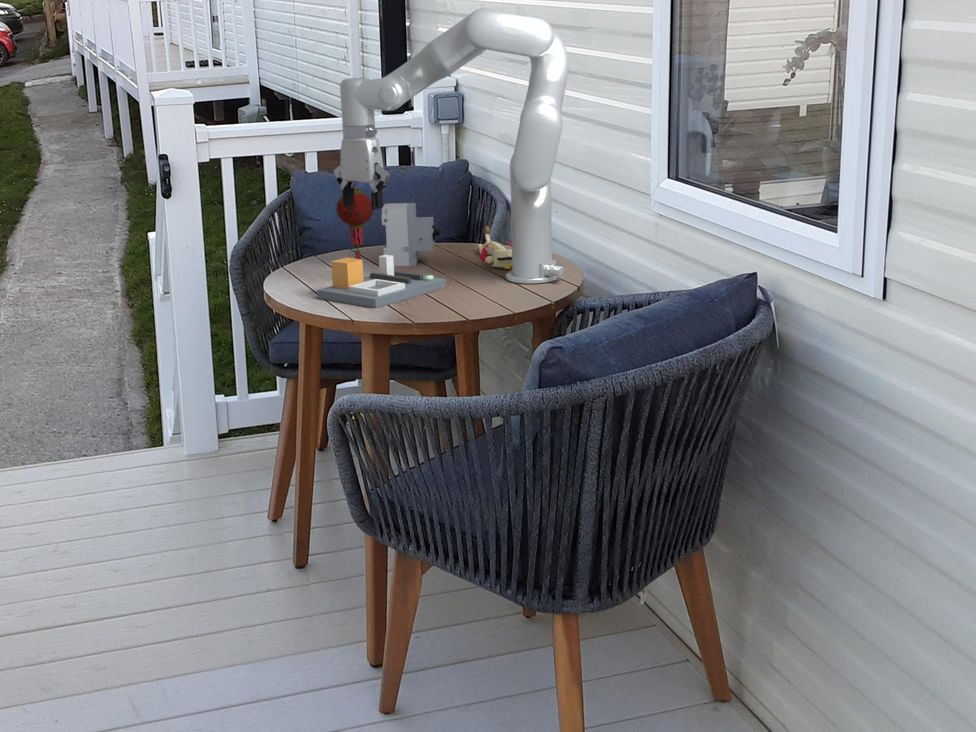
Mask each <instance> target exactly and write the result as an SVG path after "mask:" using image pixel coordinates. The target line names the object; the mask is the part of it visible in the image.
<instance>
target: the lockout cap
mask: <svg viewBox="0 0 976 732" xmlns="http://www.w3.org/2000/svg"><path fill="white" fill-rule="evenodd" d="M330 263H331V277H332V278H331V279H332V286H333V287H336V288H342V289H349V287H348V286H352V285H355V284H359V283H363V282H364V279H363V278H364V268H363V264H364V263H363V259H361V258H360V259H356V258H354V257H353V258H352V257H344V258H340V259H335V260H331V262H330Z"/></svg>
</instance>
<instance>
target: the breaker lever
mask: <svg viewBox="0 0 976 732" xmlns="http://www.w3.org/2000/svg"><path fill="white" fill-rule="evenodd" d="M378 265H379V273H380V274H386V275H393V276H394V271H395V266H394V261H393V256H392V255H384V254H383V255H379V256H378Z"/></svg>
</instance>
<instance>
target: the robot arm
mask: <svg viewBox="0 0 976 732" xmlns="http://www.w3.org/2000/svg"><path fill="white" fill-rule="evenodd" d="M563 41H564V40H563V39H562V38H561V36H560V35H559V34H558V32H557V31H556V30H555V29H554V28H553V27H552V26H551V25H550V24H549V22H547V21H546V20H545V19H543V18H540V17H534V16H528V15H520V14H517V13H516V14H515V13H509V12H503V11H497V10H493V9H489V8H484V7H483V8H478V9H476V10H474V11H473V12H470V14H468V15H467V16H465V17H464V18H463V19H461V20H460V21H458V22H456V24H454V25H453V26H452V27H450V28H448V29H447V30H446V31H444V32H443V33H441V34H439V36H437V37H435V38H434V39H432V40H431V41H430V42H428V43H427V44H426V45H425V46H424V47H423V48H422V49H421V50H420V51H419V52H418V53H417V54H415V56H413V57H411V58H410V59H409V60H408V61H406V62H404V63H403V64H402V65H400V66H399V67H398V68H396V69H394V70H393V71H392V72H390V73H389V74H386V76H383V77H380V78H376V79H375V78H374V79H369V78H367V77H354V78H353V77H352V78H351V77H350V78H344V79H342V80H341V82H340V85H339V88H340V89H339V91H340V106H341V108H340V109H341V123H342V124H341V125H342V126H341V127H342V139H341V145H340V146H341V147H340V165H339V166H337V167H336V168H335V169H334V170H333V173H334V175H335V178H336V181H337V183H338V185H339V188H340V190H342V196H343V205H344V206H352V205H354V204H355V201H354V189H355V187H354V188H353V183H354V184H355V183H362V184H368V185H369V186H370V188H371V190H372V191H373V192H372V191H371V193H370V199H371V201H372V209H374V210H379V209H382V208H383V206H384V199H383V198H384V197H383V195H384V194H383V192H384V191H385V188H386V187H387V185H388V182H389V180H390V177H391V174H390V173H389V172H388V171H387V169H385V168H384V163H383V162H384V161H383V155H382V150H381V145H380V142H379V138H376V135H377V134H378V129H377V128H376V121H375V119H376V118H375V110H378V111H385V112H389V111H395V110H397V109H399V108H400V107H401V106H403V105H404V104H405V103H407V102H409V101H410V99H412V98H414V97H415V96H417V95H419V93H421V92H422V91H424V90H425V89H427V88H429V87H430V86H432V85H434V84H435V83H436V82H439V81H441V80H444V79H446V78H448V77H449V76H450V75H452V74H453V73H455V72H456V71H458V70H460V68H461V69H462V67H463V66H465V65H467V64H468V63H469V62H471V61H472V60H474V59H475V58H477V57H478V56H480V55H482V53H484V52H485V51H487V50H489V51H493V52H497V53H504V54H505V53H506V54H509V55H510V54H512V55H517V56H523V57H528V58H529V59H530V60H529V61H530V73H529V74H530V75H529V80H528V86H527V91H526V97H525V101H524V103H523V108H522V110H521V113H520V117H519V125H518V131H517V135H516V140H515V145H514V150H513V154H512V156H511V158H510V161H509V181H510V183H509V184H510V222H511V226H510V228H511V232H510V233H511V243H512V246H511V248H512V266H511V271H509V272H507V273H506V274H505V279H506V281H508V282H512V283H517V284H528V285H529V284H532V285H533V284H544V283H545V284H546V283H551V282H554V281H557V280H559V277H561V276H563V274H564V272H565V266H561V265H557V263H556V261H557V260H556V259H553V254H552V253H553V246H552V245H553V244H552V241H553V240H552V236H553V235H552V229H553V228H552V175H553V172H554V171H553V170H554V166H555V162H556V159H557V153H558V150H559V144H560V140H561V135H562V130H563V117H562V110H563V109H562V107H563V103H564V97H565V92H566V86H567V80H568V73H569V56H568V52H567V48H566V46H565V43H564V42H563ZM374 210H373V211H374Z"/></svg>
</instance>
